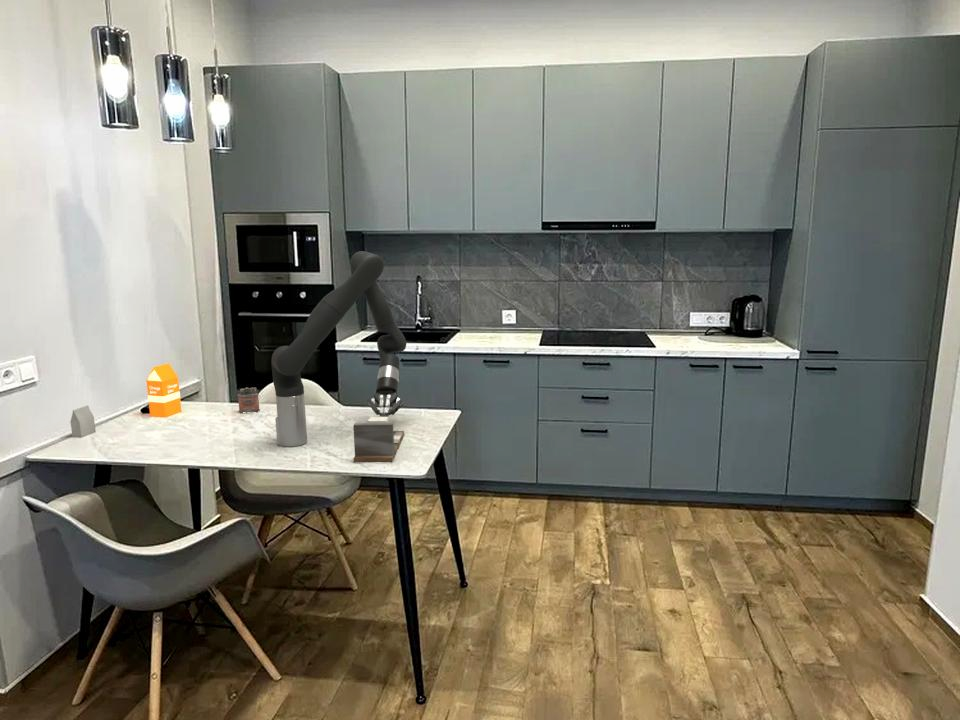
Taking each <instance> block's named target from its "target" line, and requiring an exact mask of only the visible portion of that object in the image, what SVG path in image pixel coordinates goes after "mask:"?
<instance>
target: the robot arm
mask: <svg viewBox="0 0 960 720" xmlns="http://www.w3.org/2000/svg"><path fill="white" fill-rule="evenodd" d="M349 263H350V264H349V265H350V269H351V271H352V274H351V276H350V277H349V278H348V279H347V280H346V281H345V282H344V283H342V284H341V285H340V286H338V287H337V288H335V289H333V290H331V291H330V292H329V293H327V294H326V295H324V296H323V298H321V300H320V301H319V302H318V303H317V305H316V306H315V307H314V308H313V309H312V311H311V312H310V314H309V316H308V318H307V320H306V321H305V324H304V327H303V328H302V330H301V332H300V333H299V335H297V337H296V338H295V339H294V340H293V341H292V343H290V344H289V345H282V346H279V347H277V348H276V349H275V350H274V351H273V353H272V355H271V371H272V372H271V373H272V374H271V375H272V382H273V387H274V390H275V403H276V415H277V416H276V417H275V419H274V420H275V430H276V431H275V432H276V443H277V444H276V445H277V446H280V447H281V446H282V447H298V446H299V447H300V446H303V445H305V444H307V442H308V430H307V415H306V414H307V413H306V403H305V401H306V400H305V388H304V384H303V379H302V377H301V376H302V375H301V371H302V370H303V369H304V368H305V366H306V364H307V362H308V361H309V360H310V358H311V356H312V355H313V354H314V352H315V351H316V350H317V348H318V347H319V346H320V344H322V342H323V341H324V340H326V338H327V337H329V334H330V333H331V332H332V331H333V330H334V329H335V327H336V326H337V325H338V324H339V323H340V321H342V320H343V318H344V317H345V315H346V314H347V313H348V312H349V310H350V309H351V308H352V307H353V306H354V305H355V304H356V302H357V301H358V300H359V299H360V297H361V296H362V295H364V298H365V300H366V302H367V305H368V308H369V310H370V314H371V315H372V319H373V321H374V325H375V329H376V330H377V331H378V332H380V333H385V335H381V336H379V337H378V339H377V340H376V341H377V343H376V346H377V350H378V353H379V354H378V355H379V367H378V372H377V380H376V386H375V394H374V395H373V397H372V398H368V399H367V403H368V406H369V407H370V408H371V410H373V412H374V413H375V415H376V416H378V415H379V417H389V416H390V415H392V416H394V415H395V414H396V413H397V412H398V411H399V410H400V409H401V408H402V407H403V406H404V399H402V398H399V395H398V389H399V382H400V379H399V378H400V375H399V373H400V372H399V371H400V357H399V356H398V355H396V354H397V353H403V352H404V351H405V349H406V348H407V339H406V337H405V336H404V334H403V332H402V331H401V330H400V327H398V325H397V323H396V321H395V318H394V315H393V312H392V309H391V306H390V305H389V303H388V301H387V299H386V297H385V295H384V294H383V292H382V291H381V289H380V287H379V284H378V281H377V280H378V279H379V278H380V276H381V275H382V273H383V271H384V266H385V264H384V260H383V259H382V258H381V256H380V255H377V254H375V253H372V252H368V251H363V250H360V251H356V252H355V253H354V254H353V255H352V256H351V258H350V262H349ZM376 403H377V405H378V407H379V408H378V407H377V406H376ZM389 418H390V417H389Z"/></svg>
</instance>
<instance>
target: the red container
mask: <svg viewBox="0 0 960 720" xmlns="http://www.w3.org/2000/svg"><path fill="white" fill-rule="evenodd" d="M239 392H240V393H237V399H238V413H239V412H240V413H239V414H244V413H243V412H256V411H260V412H261V409H260V400H259V399H260V398H259V392H257V387H250V388H249V387H245V388H240V389H239ZM256 413H257V412H256Z"/></svg>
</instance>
